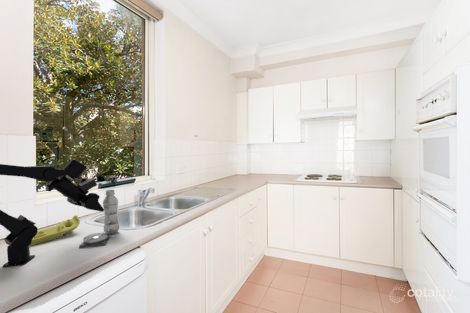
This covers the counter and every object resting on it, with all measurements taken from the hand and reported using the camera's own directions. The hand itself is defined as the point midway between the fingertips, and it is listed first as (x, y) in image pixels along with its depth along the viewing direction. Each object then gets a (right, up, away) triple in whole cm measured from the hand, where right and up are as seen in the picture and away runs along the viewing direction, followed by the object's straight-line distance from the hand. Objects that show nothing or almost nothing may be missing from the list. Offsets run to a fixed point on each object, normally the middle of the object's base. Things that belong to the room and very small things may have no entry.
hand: (98, 209), depth 106 cm
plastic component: (-21, -13, +2) cm, 25 cm away
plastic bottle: (+3, -13, +5) cm, 14 cm away
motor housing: (+2, -13, -5) cm, 14 cm away
